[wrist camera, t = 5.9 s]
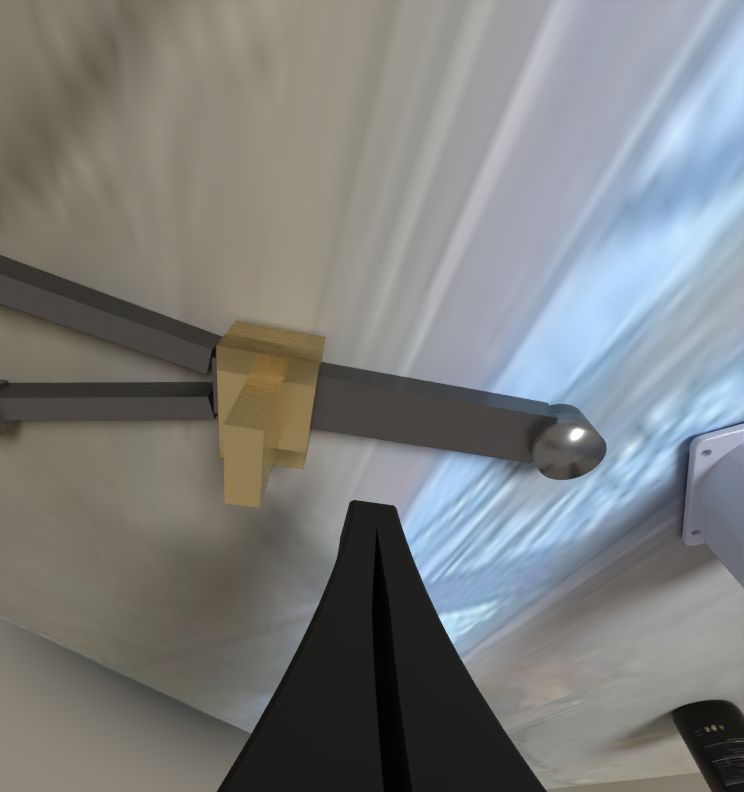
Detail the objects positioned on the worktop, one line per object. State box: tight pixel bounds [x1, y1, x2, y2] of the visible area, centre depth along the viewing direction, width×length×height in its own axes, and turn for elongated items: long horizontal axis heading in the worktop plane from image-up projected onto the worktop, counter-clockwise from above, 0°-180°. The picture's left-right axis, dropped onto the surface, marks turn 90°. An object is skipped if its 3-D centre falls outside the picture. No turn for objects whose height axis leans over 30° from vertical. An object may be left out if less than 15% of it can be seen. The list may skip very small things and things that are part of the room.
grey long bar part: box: [0, 255, 606, 480], centre depth 16 cm, size 30×9×2 cm, turn 78°
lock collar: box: [216, 321, 325, 508], centre depth 14 cm, size 4×5×5 cm, turn 168°
